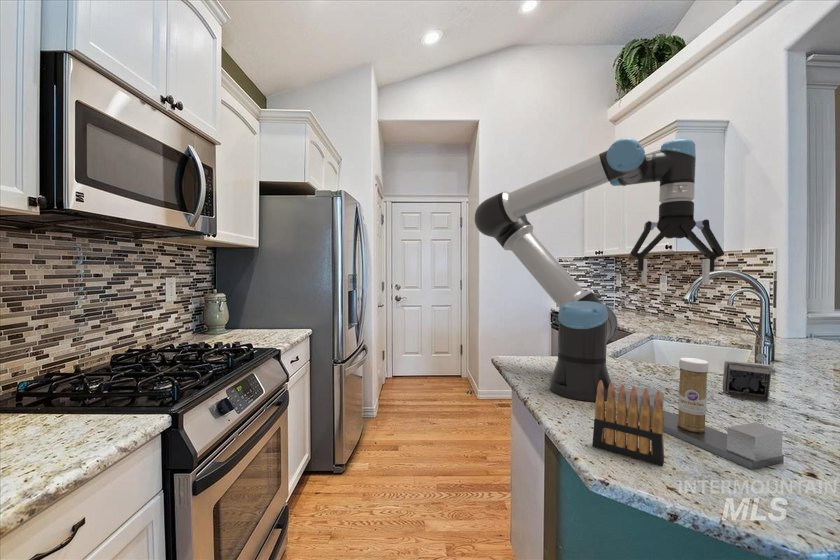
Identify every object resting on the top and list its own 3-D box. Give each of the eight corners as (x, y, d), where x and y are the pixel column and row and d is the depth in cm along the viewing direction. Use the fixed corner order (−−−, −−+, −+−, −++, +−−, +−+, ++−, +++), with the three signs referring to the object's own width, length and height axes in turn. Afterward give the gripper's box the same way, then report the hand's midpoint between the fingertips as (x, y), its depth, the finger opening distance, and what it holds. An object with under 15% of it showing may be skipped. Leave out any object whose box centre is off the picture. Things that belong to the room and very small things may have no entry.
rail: (621, 413, 84) (622, 390, 83) (648, 409, 86) (648, 387, 86) (752, 469, 60) (753, 437, 60) (783, 462, 63) (784, 431, 62)
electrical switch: (768, 398, 96) (770, 363, 95) (773, 405, 92) (775, 369, 91) (721, 391, 101) (723, 358, 100) (724, 398, 97) (725, 363, 96)
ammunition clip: (592, 446, 67) (593, 380, 67) (594, 443, 69) (596, 377, 68) (662, 466, 61) (664, 392, 60) (664, 462, 62) (666, 390, 62)
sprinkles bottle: (680, 430, 72) (682, 360, 71) (674, 422, 76) (676, 355, 76) (709, 435, 70) (712, 363, 70) (701, 425, 74) (704, 358, 74)
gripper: (624, 202, 98) (622, 283, 99) (742, 196, 89) (739, 285, 90) (620, 206, 105) (618, 282, 106) (729, 202, 96) (726, 285, 97)
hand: (673, 284), depth 98 cm, fingers open, 13 cm apart
